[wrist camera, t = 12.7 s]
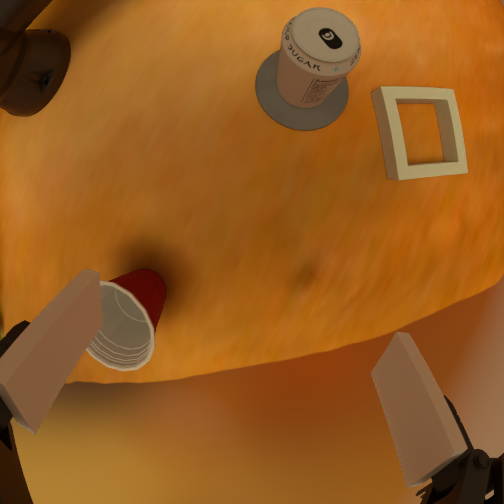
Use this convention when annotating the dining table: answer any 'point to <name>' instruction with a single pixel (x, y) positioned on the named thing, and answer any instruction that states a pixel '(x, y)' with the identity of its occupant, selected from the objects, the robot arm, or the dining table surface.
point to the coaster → (292, 114)
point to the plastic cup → (128, 320)
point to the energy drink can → (316, 55)
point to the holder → (393, 136)
